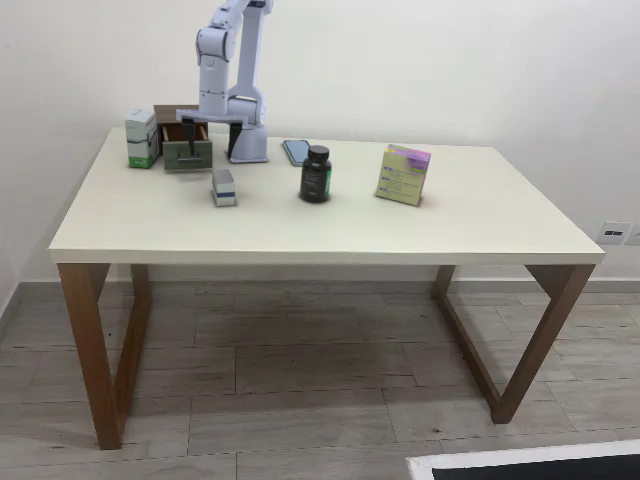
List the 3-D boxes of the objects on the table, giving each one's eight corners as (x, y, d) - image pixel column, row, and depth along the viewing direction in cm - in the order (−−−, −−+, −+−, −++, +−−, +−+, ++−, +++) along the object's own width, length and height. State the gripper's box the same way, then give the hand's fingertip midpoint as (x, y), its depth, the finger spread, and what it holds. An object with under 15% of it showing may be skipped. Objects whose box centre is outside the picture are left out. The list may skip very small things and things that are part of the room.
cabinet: (208, 153, 132) (207, 122, 127) (159, 155, 128) (156, 122, 123) (201, 134, 142) (200, 104, 138) (155, 135, 138) (153, 104, 134)
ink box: (149, 169, 121) (144, 122, 114) (128, 167, 120) (123, 119, 114) (159, 154, 128) (155, 109, 122) (140, 152, 128) (135, 107, 121)
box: (421, 196, 123) (431, 152, 117) (417, 206, 118) (428, 161, 112) (380, 186, 125) (388, 142, 119) (375, 196, 121) (383, 151, 114)
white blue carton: (229, 190, 116) (229, 169, 113) (234, 205, 110) (235, 183, 107) (212, 191, 114) (211, 169, 111) (217, 206, 109) (216, 184, 106)
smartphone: (294, 163, 130) (282, 140, 142) (294, 166, 130) (282, 143, 142) (321, 162, 132) (307, 139, 144) (320, 166, 133) (306, 142, 144)
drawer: (215, 175, 119) (214, 149, 116) (165, 178, 116) (163, 151, 112) (205, 148, 132) (204, 123, 129) (160, 149, 129) (159, 124, 125)
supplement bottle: (333, 200, 117) (339, 153, 110) (307, 205, 113) (312, 156, 107) (319, 187, 121) (324, 141, 115) (294, 192, 118) (298, 144, 112)
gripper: (175, 90, 96) (175, 158, 102) (250, 98, 100) (246, 163, 105) (177, 85, 103) (177, 149, 108) (248, 92, 106) (244, 154, 111)
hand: (211, 156), depth 107 cm, fingers open, 7 cm apart
